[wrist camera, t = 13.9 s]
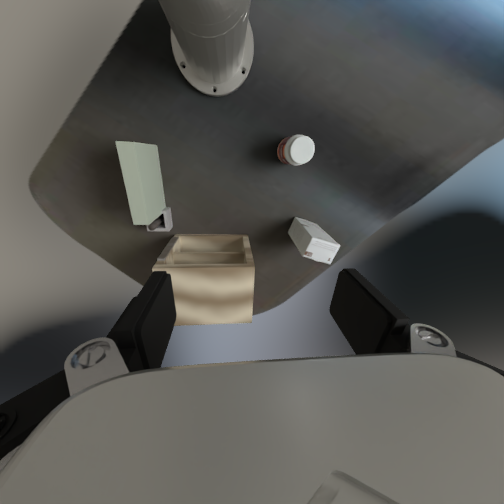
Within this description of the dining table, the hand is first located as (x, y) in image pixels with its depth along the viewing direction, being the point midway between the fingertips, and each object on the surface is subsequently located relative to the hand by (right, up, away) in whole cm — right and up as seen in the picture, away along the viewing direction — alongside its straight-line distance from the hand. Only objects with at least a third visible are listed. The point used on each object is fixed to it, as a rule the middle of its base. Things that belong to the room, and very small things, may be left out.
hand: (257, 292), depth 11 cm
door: (-19, +15, +29) cm, 38 cm away
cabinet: (-11, +3, +36) cm, 38 cm away
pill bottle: (+7, +22, +29) cm, 37 cm away
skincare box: (+11, +8, +36) cm, 38 cm away
